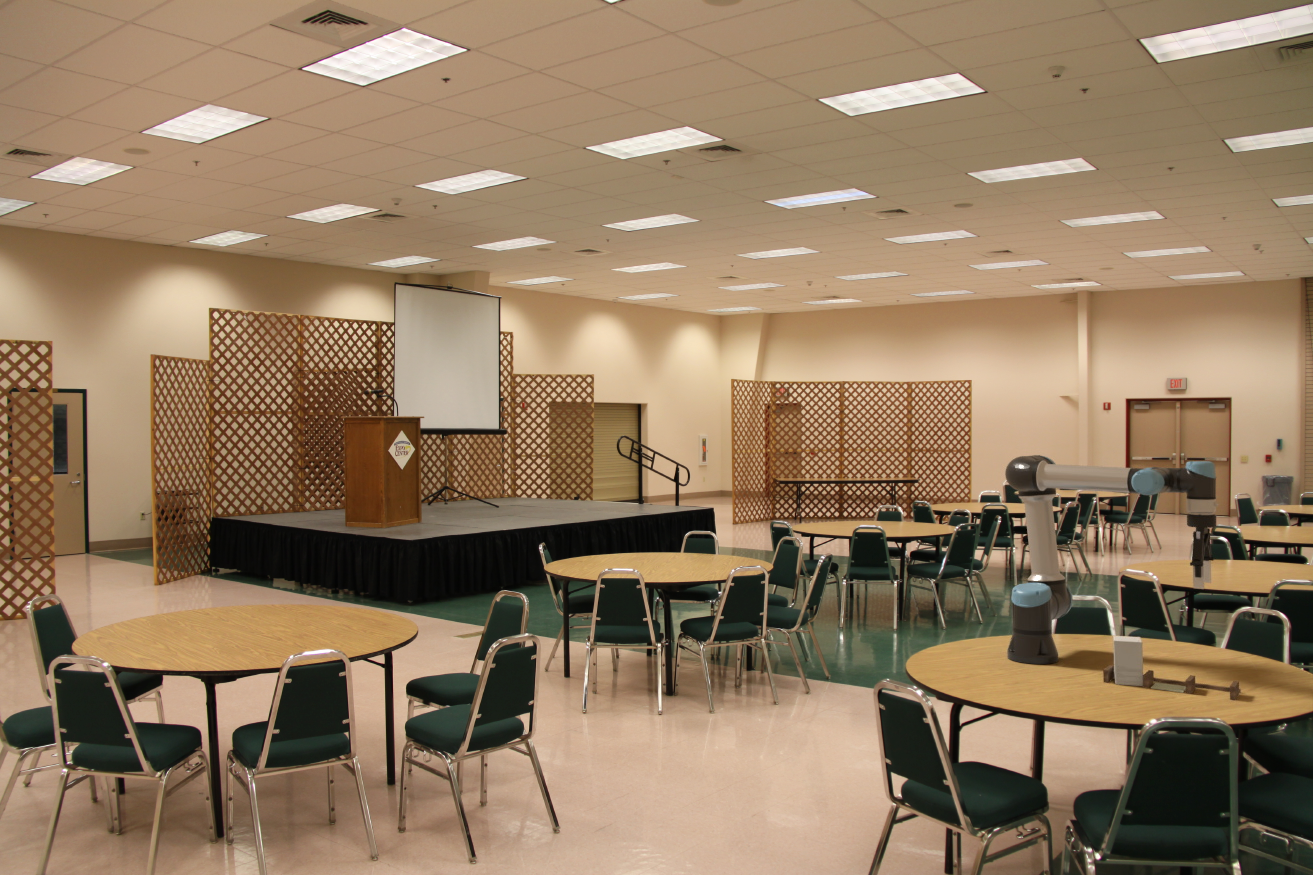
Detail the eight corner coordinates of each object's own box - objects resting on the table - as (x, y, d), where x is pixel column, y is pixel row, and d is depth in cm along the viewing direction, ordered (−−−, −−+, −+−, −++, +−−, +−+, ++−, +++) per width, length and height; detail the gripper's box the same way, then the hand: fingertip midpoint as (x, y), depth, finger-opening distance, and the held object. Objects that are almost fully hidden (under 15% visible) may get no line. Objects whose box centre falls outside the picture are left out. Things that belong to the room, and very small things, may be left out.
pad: (1150, 688, 259) (1150, 687, 259) (1155, 683, 264) (1155, 682, 264) (1183, 692, 254) (1183, 691, 254) (1187, 687, 259) (1187, 686, 259)
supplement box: (1142, 680, 268) (1141, 636, 268) (1143, 686, 261) (1142, 641, 261) (1113, 678, 271) (1112, 634, 271) (1114, 684, 264) (1113, 639, 264)
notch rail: (1103, 681, 267) (1103, 669, 267) (1111, 675, 274) (1111, 663, 274) (1235, 699, 246) (1235, 686, 246) (1240, 692, 254) (1240, 679, 254)
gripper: (1209, 517, 262) (1210, 592, 262) (1221, 511, 282) (1222, 580, 282) (1179, 515, 267) (1180, 589, 267) (1193, 510, 287) (1194, 578, 287)
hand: (1202, 585), depth 274 cm, fingers open, 13 cm apart
